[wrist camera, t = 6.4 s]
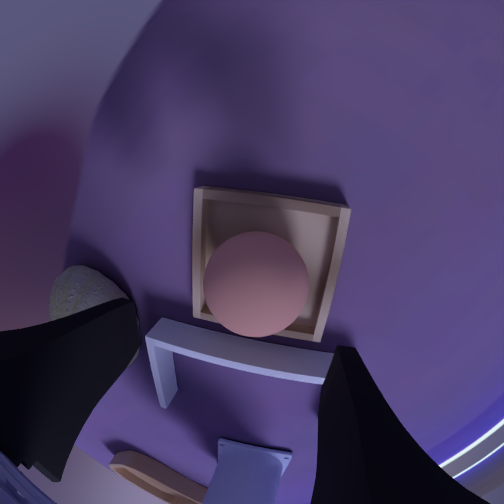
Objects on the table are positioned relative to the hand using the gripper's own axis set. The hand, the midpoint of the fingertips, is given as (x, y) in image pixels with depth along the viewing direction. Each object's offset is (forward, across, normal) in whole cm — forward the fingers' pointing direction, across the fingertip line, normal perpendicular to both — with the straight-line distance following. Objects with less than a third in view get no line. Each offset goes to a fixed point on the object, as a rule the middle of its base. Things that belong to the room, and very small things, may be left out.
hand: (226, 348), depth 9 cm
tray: (+8, 0, 0) cm, 8 cm away
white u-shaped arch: (+8, 0, +10) cm, 12 cm away
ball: (+7, 0, 0) cm, 7 cm away
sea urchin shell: (+8, +13, +7) cm, 17 cm away
